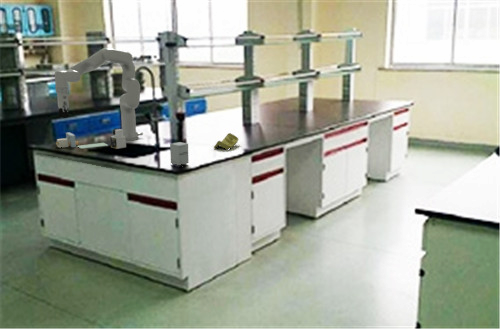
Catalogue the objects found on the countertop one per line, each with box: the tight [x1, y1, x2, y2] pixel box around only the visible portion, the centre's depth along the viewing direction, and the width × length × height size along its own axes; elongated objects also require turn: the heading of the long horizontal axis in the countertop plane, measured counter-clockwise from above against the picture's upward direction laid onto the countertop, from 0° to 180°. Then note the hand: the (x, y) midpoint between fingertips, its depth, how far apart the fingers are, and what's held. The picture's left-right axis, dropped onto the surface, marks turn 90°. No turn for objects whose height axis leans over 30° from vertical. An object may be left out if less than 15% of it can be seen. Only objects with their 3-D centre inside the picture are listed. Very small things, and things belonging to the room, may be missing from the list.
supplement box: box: [169, 141, 189, 165], centre depth 304 cm, size 7×7×13 cm
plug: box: [55, 137, 80, 149], centre depth 354 cm, size 14×4×5 cm, turn 124°
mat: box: [76, 142, 109, 150], centre depth 355 cm, size 18×9×1 cm, turn 123°
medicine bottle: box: [109, 128, 127, 150], centre depth 350 cm, size 7×7×12 cm
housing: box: [65, 132, 77, 148], centre depth 355 cm, size 2×12×8 cm, turn 34°
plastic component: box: [213, 132, 239, 150], centre depth 353 cm, size 20×7×10 cm
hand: (63, 116), depth 350 cm, fingers open, 9 cm apart
